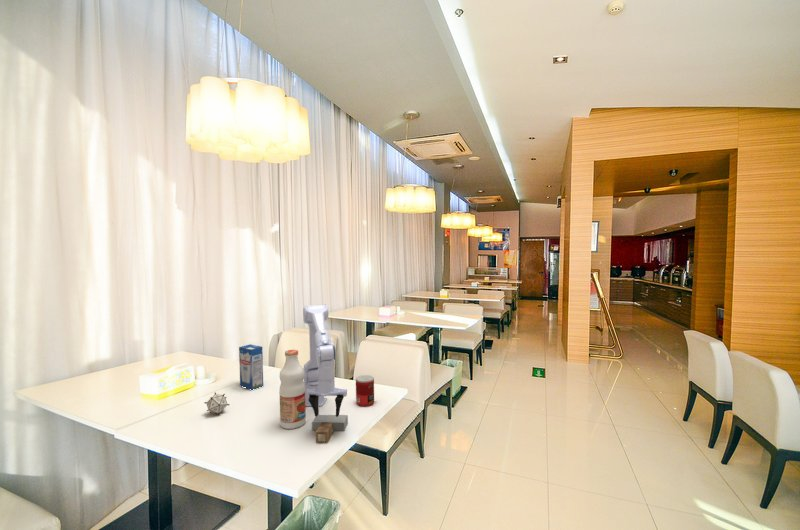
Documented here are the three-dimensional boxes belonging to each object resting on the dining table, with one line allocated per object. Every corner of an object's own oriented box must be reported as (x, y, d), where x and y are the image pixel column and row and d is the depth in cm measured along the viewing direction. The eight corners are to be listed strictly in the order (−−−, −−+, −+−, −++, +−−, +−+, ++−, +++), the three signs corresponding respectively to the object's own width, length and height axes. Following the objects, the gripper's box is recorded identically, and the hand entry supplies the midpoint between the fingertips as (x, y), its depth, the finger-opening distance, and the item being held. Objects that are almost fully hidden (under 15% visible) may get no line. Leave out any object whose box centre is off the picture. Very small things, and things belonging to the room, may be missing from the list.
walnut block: (321, 432, 124) (316, 443, 117) (321, 422, 124) (315, 432, 117) (332, 433, 124) (327, 443, 116) (332, 422, 123) (327, 432, 116)
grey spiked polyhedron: (223, 420, 142) (238, 400, 143) (206, 422, 134) (222, 400, 135) (212, 406, 146) (226, 386, 147) (195, 407, 138) (211, 386, 139)
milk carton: (263, 386, 170) (262, 346, 169) (252, 390, 164) (251, 349, 164) (251, 383, 175) (250, 344, 175) (240, 386, 170) (238, 347, 169)
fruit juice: (281, 419, 134) (280, 348, 134) (306, 416, 136) (304, 347, 136) (278, 431, 125) (276, 355, 125) (305, 427, 127) (303, 353, 127)
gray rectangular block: (312, 430, 125) (312, 422, 125) (317, 422, 131) (316, 414, 131) (344, 430, 125) (344, 422, 125) (347, 422, 131) (347, 415, 131)
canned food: (371, 407, 144) (371, 381, 144) (353, 406, 145) (353, 380, 145) (376, 400, 151) (376, 375, 151) (359, 398, 153) (358, 374, 153)
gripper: (303, 382, 120) (303, 420, 120) (343, 382, 119) (344, 420, 119) (309, 375, 127) (310, 411, 127) (347, 375, 126) (348, 411, 127)
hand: (327, 415), depth 124 cm, fingers open, 7 cm apart
